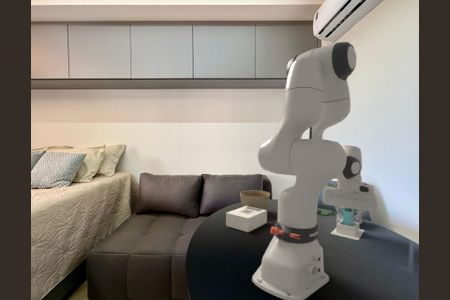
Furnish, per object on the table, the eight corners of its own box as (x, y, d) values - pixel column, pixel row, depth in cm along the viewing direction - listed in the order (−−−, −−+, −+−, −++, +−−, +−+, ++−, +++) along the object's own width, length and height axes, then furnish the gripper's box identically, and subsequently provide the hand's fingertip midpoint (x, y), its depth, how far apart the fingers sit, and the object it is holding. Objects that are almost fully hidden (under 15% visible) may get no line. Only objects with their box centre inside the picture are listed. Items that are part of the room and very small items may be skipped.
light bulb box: (350, 230, 102) (350, 206, 102) (335, 225, 108) (336, 202, 108) (362, 226, 108) (363, 203, 108) (348, 222, 114) (349, 200, 113)
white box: (247, 232, 98) (248, 217, 98) (226, 225, 106) (226, 212, 106) (266, 222, 110) (266, 209, 110) (245, 217, 118) (246, 205, 118)
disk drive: (298, 214, 127) (326, 220, 117) (298, 209, 127) (326, 214, 117) (306, 210, 135) (333, 215, 125) (306, 205, 135) (333, 210, 125)
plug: (350, 234, 94) (351, 205, 94) (342, 232, 96) (343, 204, 96) (352, 231, 97) (353, 203, 97) (345, 229, 99) (345, 202, 99)
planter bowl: (249, 207, 138) (249, 189, 137) (274, 212, 128) (274, 192, 128) (234, 213, 125) (234, 193, 124) (261, 219, 115) (261, 197, 115)
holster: (358, 244, 88) (358, 231, 88) (330, 237, 94) (330, 224, 94) (364, 233, 99) (364, 221, 99) (338, 227, 105) (339, 216, 105)
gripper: (320, 183, 100) (319, 214, 100) (376, 189, 87) (375, 226, 87) (325, 181, 105) (324, 211, 105) (378, 187, 92) (377, 221, 92)
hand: (348, 218), depth 96 cm, fingers open, 5 cm apart
